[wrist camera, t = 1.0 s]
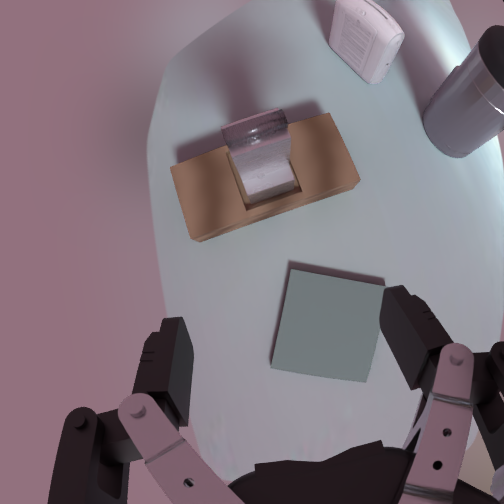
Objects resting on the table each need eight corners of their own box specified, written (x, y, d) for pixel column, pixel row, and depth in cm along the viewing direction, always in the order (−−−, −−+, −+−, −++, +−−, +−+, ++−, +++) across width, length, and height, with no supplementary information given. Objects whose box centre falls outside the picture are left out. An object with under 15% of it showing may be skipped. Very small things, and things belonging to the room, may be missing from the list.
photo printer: (389, 79, 37) (415, 26, 25) (370, 89, 37) (393, 35, 25) (344, 36, 38) (355, -19, 26) (323, 45, 39) (331, -13, 26)
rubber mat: (290, 269, 37) (291, 268, 36) (385, 286, 35) (388, 286, 34) (270, 365, 36) (270, 368, 35) (364, 379, 35) (366, 382, 34)
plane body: (199, 242, 38) (190, 238, 34) (180, 177, 39) (169, 167, 35) (353, 188, 37) (360, 179, 33) (325, 127, 38) (329, 112, 34)
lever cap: (251, 204, 35) (234, 167, 22) (234, 157, 35) (212, 104, 23) (293, 189, 34) (298, 146, 22) (275, 144, 35) (270, 85, 23)
